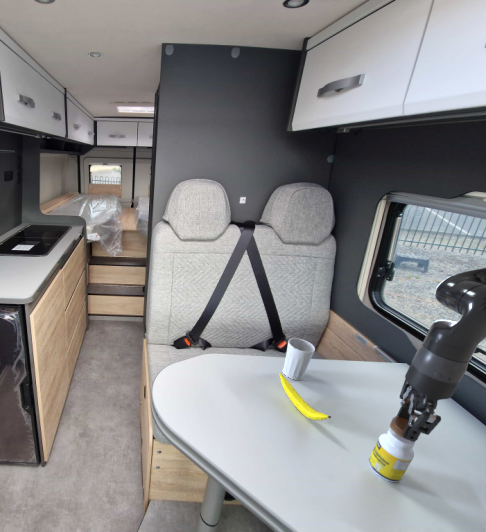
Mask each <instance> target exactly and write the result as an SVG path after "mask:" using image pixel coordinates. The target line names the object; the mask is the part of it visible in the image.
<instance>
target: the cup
mask: <svg viewBox="0 0 486 532" xmlns="http://www.w3.org/2000/svg"><path fill="white" fill-rule="evenodd" d="M315 352H316V347H315V346H314V344H313V343H311V342H310V341H308V340H305V339H302V338H299V337H291V338H289V339H288V341H287V347H286V353H285V359H284V364H283V368H282V373H283V375H284V374H285V375H286V376H285V375H284V376H285V377H287V378H288V377H289V378H288V379H290V378H291V379H290V380H292V379H294V380H293V381H301V380H303V378H304V375H305V374H306V371H307V369H308V367H309V364H310V362H311V360H312V358H313V356H314V353H315Z"/></svg>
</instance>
